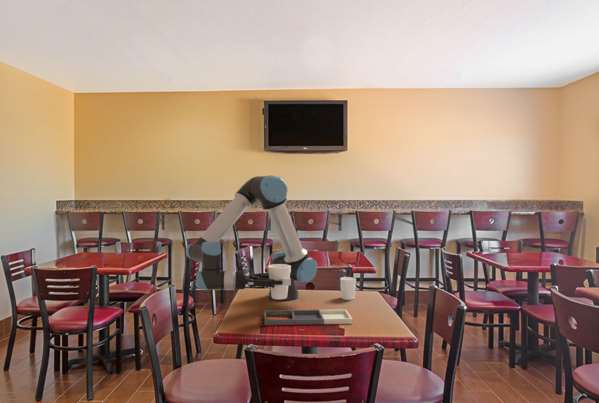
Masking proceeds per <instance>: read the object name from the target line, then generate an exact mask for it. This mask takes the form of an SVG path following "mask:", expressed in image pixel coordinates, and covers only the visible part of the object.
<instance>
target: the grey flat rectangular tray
mask: <svg viewBox="0 0 599 403" xmlns="http://www.w3.org/2000/svg"><path fill="white" fill-rule="evenodd" d="M267 316H291V318H288V319H287V318H285V319H283V318H281V319H279V318H277V319H267ZM347 324H348V325H349V324H353V317H352V316H351V314H350V313H349V312H348V310H347V309H341V308H340V309H337V308H336V309H289V310H288V309H287V310H285V309H283V310H280V309H279V310H277V309H275V310H270V309H269V310H266V309H265V310H264V326H285V325H286V326H289V325H290V326H292V325H293V326H294V325H295V326H297V325H301V326H302V325H347Z"/></svg>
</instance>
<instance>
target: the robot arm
mask: <svg viewBox="0 0 599 403" xmlns="http://www.w3.org/2000/svg"><path fill="white" fill-rule="evenodd" d="M287 195H288V185H287V183H286V181H284V179H283V178H281V177H280V176H276V175H263V176H260V175H259V176H254V177H251V178H250V179H248V180H247V181H246V182H245V183H244V184H243V185H242V186H241V187H240V188H239V189H237V191H236V192H235V193H234V198H233V199H232V200H231V201H230V202H229V203H228V205H227V206H226V207H225V208H224V209H223V210H222V212H221V213H220V214H218V216H217V217H216V219H214V220H213V222H212V223H211V224H210V225H209V226H208V227H207V229H206V230H205V231H204V232H203V233H202V235H201V236H200V237H198V239H197V240H196V241H195V242H192V243H189V244H188V245H186V248H185V253H186V254H185V255H186V256H187V258H189V259H190V260H192V261H194V262H199V263H200V264H201V270H200V271H198V272H196V277H195V279H196V280H195V285H196V288H197V289H198V290H202V291H203V290H204V291H205V290H206V291H216V290H217V291H219V290H226V291H230V290H235V289H236V290H245V288H246V285H248V287H249V288H250V287H257V288H258V287H261V288H262V287H264V288H269V291H268V298H269V299H271V300H275V301H293V300H296V299H298V298H299V291H298V287H297V284H296V282H300V283H309V282H311V281H312V280H314V278H315V277H316V275H317V271H318V263H317V260H315V259H314V258H312V257H310V255H309V253H308V250H307V249H305V248H303V246H302V244H301V241H300V238H299V236H298V233H297V230H296V228H295V226H294V223H293V220H292V218H291V216H290V213H289V210H288V208H287V206H286V203H287V201H288V199H287ZM258 202H260V205H261V207H262V210H263V211H267V213H268V216H269V218H270V220H271V223H272V226H273V227H274V230H275V232H276V235H277V236H278V240H279V243H280V244H281V246H282V247H281V248H282V249H283V251H277V252H276V251H275V252H274V253H273V254H272V258H271V261H272V262H271V263H272V264H271V265H273V264H286V265H290V266H291V272H290V278H281V279H275V281H274V279H269V273H268V272H258V273H249V275H248V274H247V275H246V271H245V270H236V271H235V270H221V268H222V266H221V264H222V263H221V262H222V249H221V248H222V246H221V243H220V241H221V239H222V238H223V237H224V236H226V234H227V233H228V231H230V229H231V228H232V227H233V225H234V224H235V223H236V222H237V221H238V219H240V217H241V216H242V215H243V214H244V213H245V212H246V211H247V209H250V208H252V207H253V205H255V204H256V203H258ZM274 285H275V286H288V285H289V286H288V293H287V298H286V299H273V298H272V296H271V288H270V287H272V288H274Z"/></svg>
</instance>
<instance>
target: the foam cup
mask: <svg viewBox="0 0 599 403" xmlns="http://www.w3.org/2000/svg"><path fill="white" fill-rule="evenodd" d="M290 272H291V266H290V265H286V264H273V265H272V264H269V265H267V273H269V279H274V281H275V279H281V278H290ZM288 286H289V285H288ZM288 286H275V285H274V288H272V287H269V289H270V288H271V296H272V298H273V299H272V300H274V299H286V298H287V293H288Z"/></svg>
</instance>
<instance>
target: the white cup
mask: <svg viewBox="0 0 599 403" xmlns="http://www.w3.org/2000/svg"><path fill="white" fill-rule="evenodd" d="M339 281H340V282H339V283H340V298H341V300H344V301H345V300H346V301H352V300H355V298H356V285H357V278H356V277H350V276H344V277H340V280H339Z"/></svg>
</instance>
